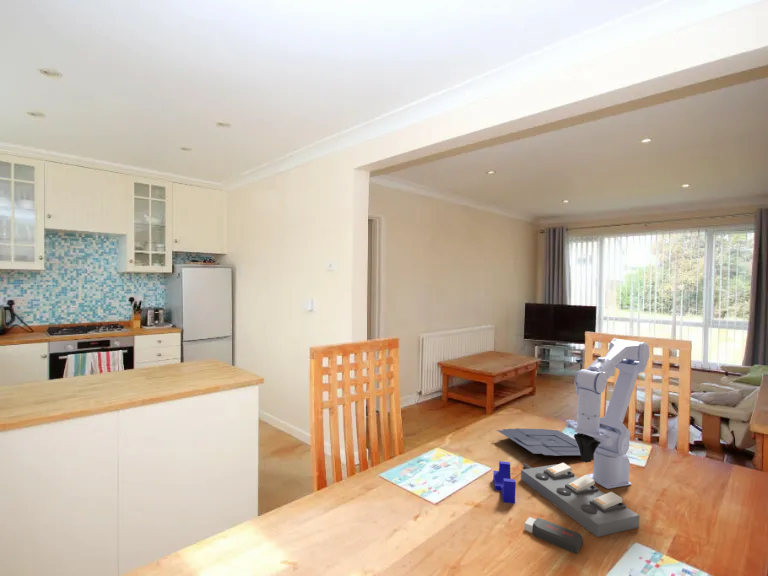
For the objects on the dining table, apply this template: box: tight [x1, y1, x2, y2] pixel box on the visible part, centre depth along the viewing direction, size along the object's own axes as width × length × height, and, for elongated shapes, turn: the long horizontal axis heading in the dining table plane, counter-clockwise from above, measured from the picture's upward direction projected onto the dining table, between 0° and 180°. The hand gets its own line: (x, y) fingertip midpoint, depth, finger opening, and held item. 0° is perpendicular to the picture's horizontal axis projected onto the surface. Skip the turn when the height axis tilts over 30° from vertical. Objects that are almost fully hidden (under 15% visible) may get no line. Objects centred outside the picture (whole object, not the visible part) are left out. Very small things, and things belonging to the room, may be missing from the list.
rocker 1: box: [547, 462, 572, 477], centre depth 120 cm, size 6×3×1 cm, turn 109°
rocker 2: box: [593, 491, 623, 509], centre depth 104 cm, size 6×3×1 cm, turn 109°
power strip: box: [520, 462, 640, 538], centre depth 114 cm, size 13×35×4 cm, turn 19°
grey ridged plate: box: [496, 427, 594, 457], centre depth 146 cm, size 24×30×4 cm
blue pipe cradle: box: [492, 460, 517, 504], centre depth 115 cm, size 12×4×6 cm, turn 170°
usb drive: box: [523, 516, 584, 555], centre depth 95 cm, size 5×12×3 cm, turn 51°
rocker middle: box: [569, 474, 596, 492], centre depth 112 cm, size 6×3×1 cm, turn 109°
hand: (586, 461), depth 115 cm, fingers closed
